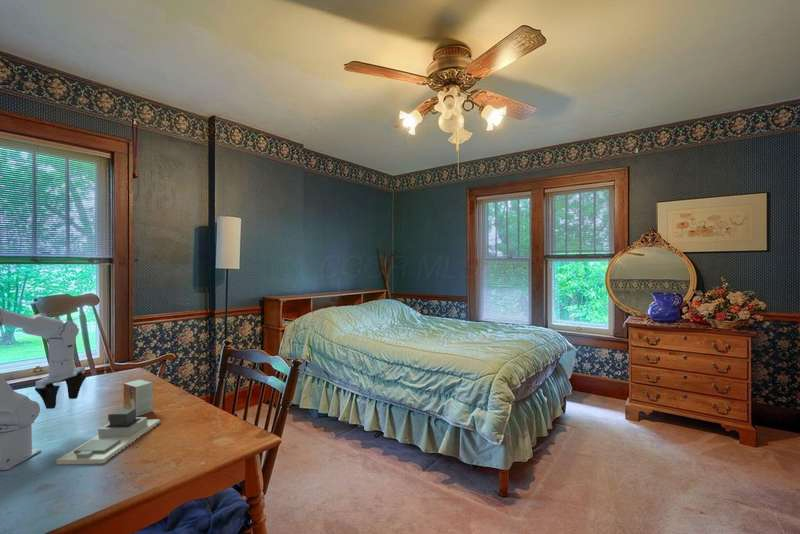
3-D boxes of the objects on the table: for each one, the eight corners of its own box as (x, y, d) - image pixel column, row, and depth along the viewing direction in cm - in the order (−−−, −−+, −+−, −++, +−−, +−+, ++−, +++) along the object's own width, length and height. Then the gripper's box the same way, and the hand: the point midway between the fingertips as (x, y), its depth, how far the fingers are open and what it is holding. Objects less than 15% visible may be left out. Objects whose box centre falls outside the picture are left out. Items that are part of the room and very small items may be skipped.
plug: (126, 433, 110) (126, 414, 110) (105, 434, 110) (105, 414, 110) (135, 427, 114) (135, 408, 114) (115, 427, 114) (115, 408, 114)
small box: (123, 412, 128) (123, 383, 128) (140, 407, 133) (140, 378, 133) (135, 417, 124) (135, 387, 124) (153, 411, 129) (152, 382, 129)
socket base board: (103, 463, 96) (103, 449, 96) (56, 464, 96) (56, 450, 96) (160, 422, 120) (159, 411, 120) (122, 423, 120) (122, 412, 120)
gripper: (52, 366, 105) (53, 413, 105) (94, 353, 120) (94, 394, 120) (27, 366, 105) (28, 413, 105) (72, 353, 120) (73, 394, 120)
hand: (62, 403), depth 113 cm, fingers open, 7 cm apart
